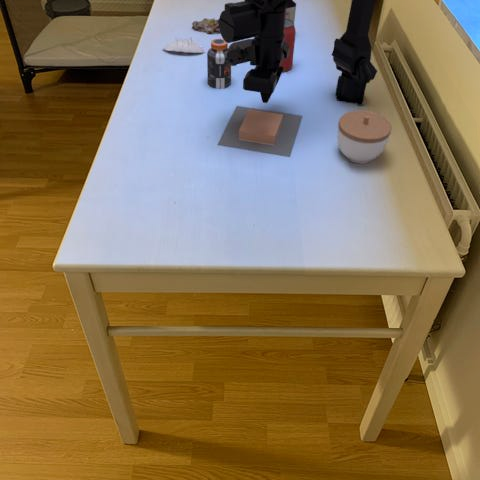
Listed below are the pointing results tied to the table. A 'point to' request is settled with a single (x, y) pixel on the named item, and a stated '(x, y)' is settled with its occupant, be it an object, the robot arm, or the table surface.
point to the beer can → (289, 43)
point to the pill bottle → (218, 65)
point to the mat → (280, 148)
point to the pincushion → (184, 46)
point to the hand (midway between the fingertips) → (265, 102)
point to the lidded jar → (362, 135)
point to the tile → (260, 127)
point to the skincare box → (290, 13)
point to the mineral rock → (207, 26)
